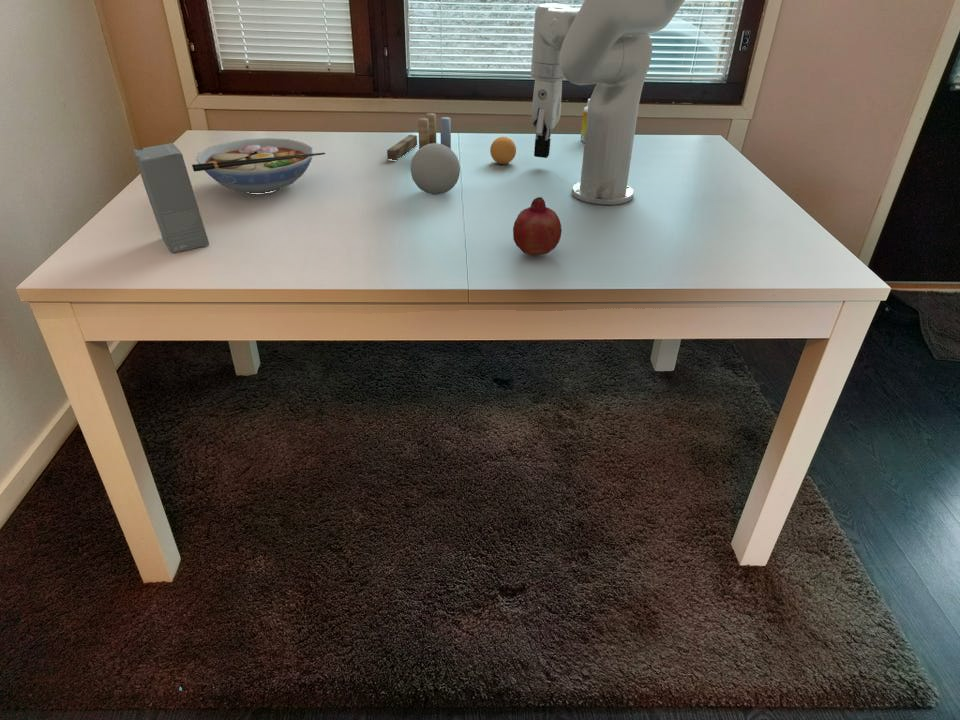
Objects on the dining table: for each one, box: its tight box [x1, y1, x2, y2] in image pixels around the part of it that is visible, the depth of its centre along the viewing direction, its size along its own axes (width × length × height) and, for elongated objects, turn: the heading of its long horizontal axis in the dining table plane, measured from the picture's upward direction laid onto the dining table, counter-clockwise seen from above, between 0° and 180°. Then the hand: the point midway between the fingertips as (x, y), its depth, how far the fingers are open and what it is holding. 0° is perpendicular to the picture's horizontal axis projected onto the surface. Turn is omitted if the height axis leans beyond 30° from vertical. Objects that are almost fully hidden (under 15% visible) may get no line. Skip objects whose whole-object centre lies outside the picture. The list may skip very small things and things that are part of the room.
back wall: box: [386, 134, 418, 161], centre depth 155 cm, size 14×2×2 cm, turn 164°
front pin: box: [439, 116, 452, 150], centre depth 151 cm, size 2×2×9 cm
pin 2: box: [425, 112, 437, 144], centre depth 154 cm, size 2×2×9 cm
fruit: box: [512, 196, 563, 256], centre depth 106 cm, size 8×8×10 cm
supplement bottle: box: [580, 98, 590, 143], centre depth 165 cm, size 6×6×10 cm
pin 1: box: [417, 117, 429, 150], centre depth 150 cm, size 2×2×9 cm
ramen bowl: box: [191, 137, 326, 194], centre depth 132 cm, size 25×23×8 cm
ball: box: [410, 142, 461, 196], centre depth 130 cm, size 10×10×10 cm
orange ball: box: [489, 136, 517, 165], centre depth 149 cm, size 6×6×6 cm
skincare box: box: [132, 142, 210, 254], centre depth 107 cm, size 8×7×16 cm
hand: (541, 156), depth 147 cm, fingers closed
